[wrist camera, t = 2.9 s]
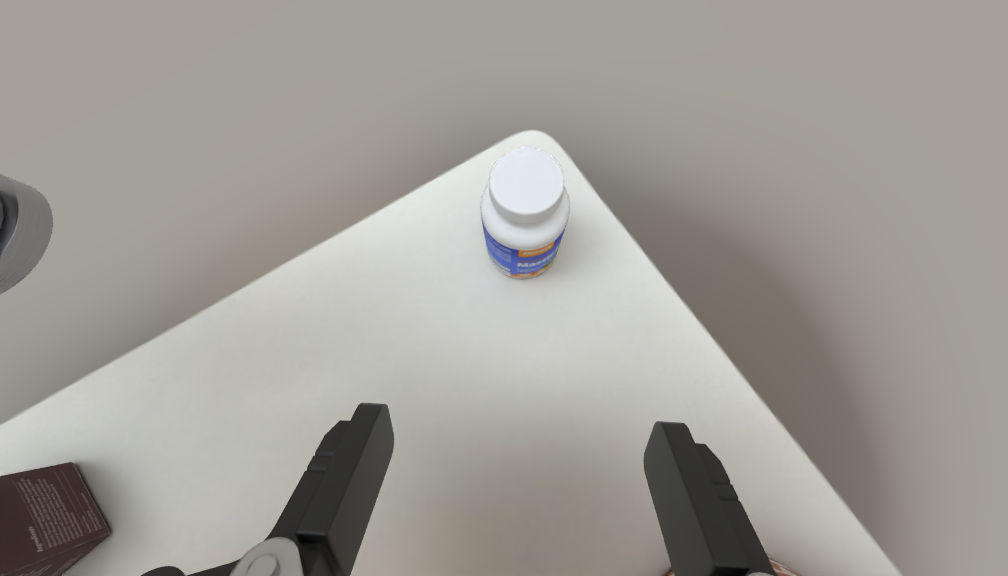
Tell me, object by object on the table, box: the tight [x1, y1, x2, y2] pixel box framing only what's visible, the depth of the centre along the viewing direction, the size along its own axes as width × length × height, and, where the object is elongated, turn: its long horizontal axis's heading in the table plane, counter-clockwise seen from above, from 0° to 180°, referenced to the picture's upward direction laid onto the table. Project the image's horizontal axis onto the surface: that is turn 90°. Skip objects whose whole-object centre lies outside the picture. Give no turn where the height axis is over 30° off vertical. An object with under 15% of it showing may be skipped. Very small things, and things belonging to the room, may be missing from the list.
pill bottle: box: [480, 147, 570, 279], centre depth 24 cm, size 5×5×10 cm
